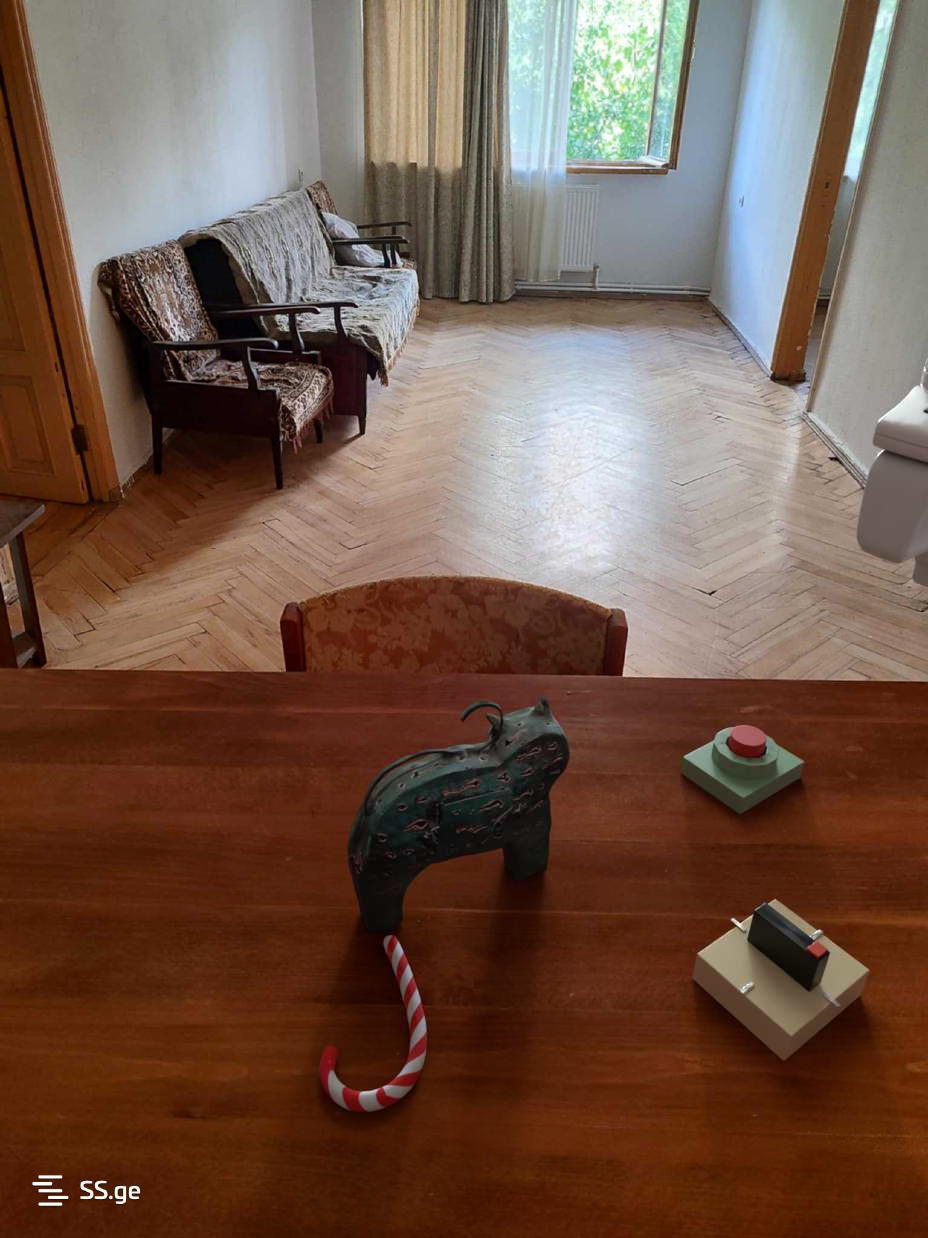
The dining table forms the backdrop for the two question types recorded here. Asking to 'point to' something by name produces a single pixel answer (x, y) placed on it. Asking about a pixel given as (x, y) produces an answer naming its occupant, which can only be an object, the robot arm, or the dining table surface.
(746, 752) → the red button
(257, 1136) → the dining table surface
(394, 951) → the candy cane
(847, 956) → the battery holder base
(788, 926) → the black battery pack
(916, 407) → the robot arm
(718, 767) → the button box
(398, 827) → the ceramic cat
